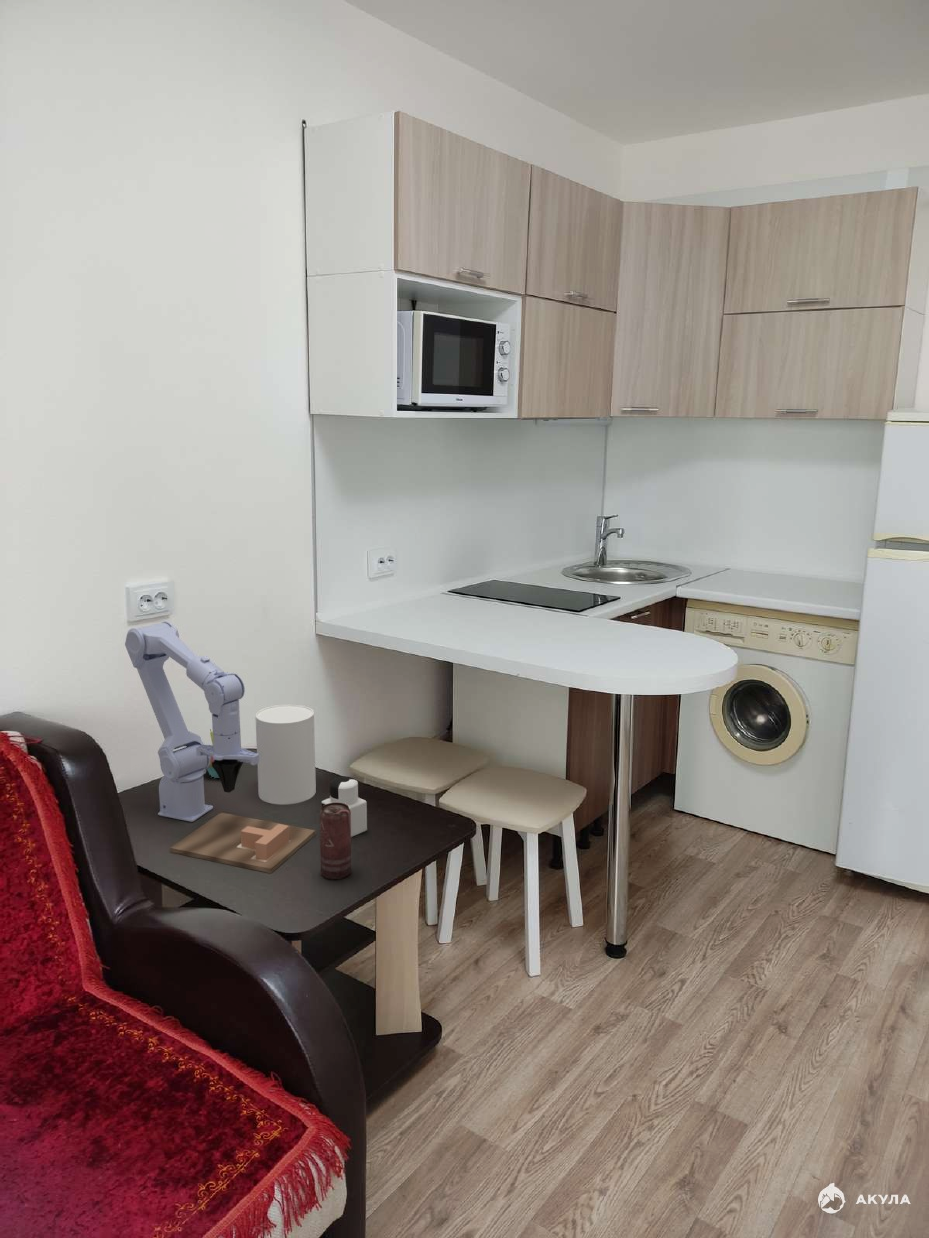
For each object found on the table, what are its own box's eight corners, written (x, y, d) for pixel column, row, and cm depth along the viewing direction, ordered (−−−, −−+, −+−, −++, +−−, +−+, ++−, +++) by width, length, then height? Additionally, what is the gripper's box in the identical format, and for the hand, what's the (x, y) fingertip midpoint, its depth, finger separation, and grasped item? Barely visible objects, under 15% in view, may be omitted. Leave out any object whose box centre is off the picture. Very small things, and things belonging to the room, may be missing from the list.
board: (170, 852, 188) (170, 847, 188) (221, 816, 204) (221, 812, 204) (271, 873, 180) (270, 868, 180) (315, 834, 196) (315, 830, 196)
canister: (246, 795, 215) (243, 716, 211) (285, 776, 227) (283, 700, 222) (289, 809, 209) (286, 727, 204) (327, 789, 220) (325, 711, 215)
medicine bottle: (321, 830, 198) (320, 779, 196) (346, 820, 203) (345, 770, 201) (342, 841, 194) (341, 789, 191) (367, 830, 199) (367, 779, 196)
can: (347, 882, 177) (346, 816, 174) (316, 878, 178) (314, 812, 175) (356, 867, 183) (356, 803, 180) (327, 863, 184) (325, 799, 181)
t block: (232, 853, 186) (231, 837, 185) (256, 834, 194) (256, 819, 193) (266, 860, 183) (265, 844, 182) (289, 841, 191) (288, 825, 190)
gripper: (186, 732, 191) (189, 792, 194) (245, 741, 186) (247, 803, 190) (206, 722, 198) (209, 780, 201) (263, 730, 193) (266, 790, 196)
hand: (229, 790), depth 196 cm, fingers closed
